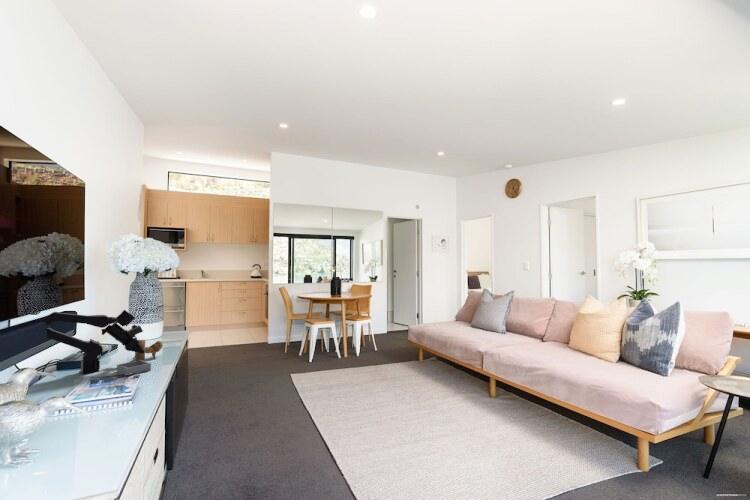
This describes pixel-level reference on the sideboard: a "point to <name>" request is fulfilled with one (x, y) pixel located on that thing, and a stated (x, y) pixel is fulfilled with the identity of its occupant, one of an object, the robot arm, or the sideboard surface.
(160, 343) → the lion figurine
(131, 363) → the box
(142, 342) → the walnut handle
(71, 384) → the sideboard surface
